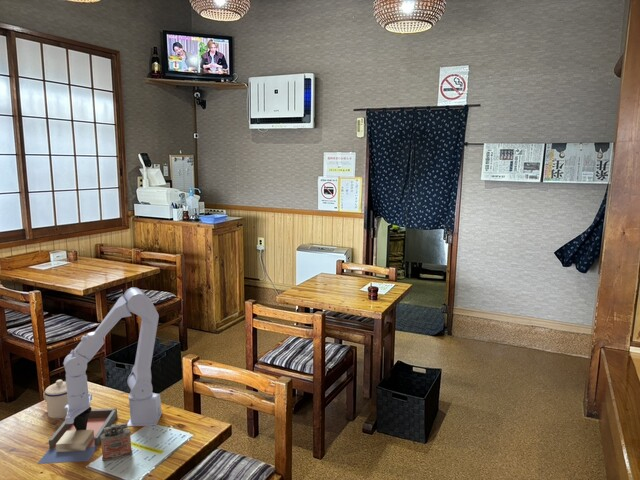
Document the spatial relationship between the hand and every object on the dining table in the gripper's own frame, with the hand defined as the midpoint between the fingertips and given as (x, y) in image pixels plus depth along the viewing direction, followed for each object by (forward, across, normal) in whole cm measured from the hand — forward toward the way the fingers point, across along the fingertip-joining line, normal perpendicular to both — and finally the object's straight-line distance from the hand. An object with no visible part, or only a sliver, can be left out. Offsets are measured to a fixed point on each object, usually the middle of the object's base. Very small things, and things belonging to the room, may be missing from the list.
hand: (81, 432), depth 148 cm
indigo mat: (+1, +10, 0) cm, 10 cm away
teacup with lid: (+2, -16, -14) cm, 21 cm away
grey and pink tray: (+1, -3, 0) cm, 3 cm away
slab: (+1, +4, 0) cm, 5 cm away
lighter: (+2, +11, +14) cm, 18 cm away
